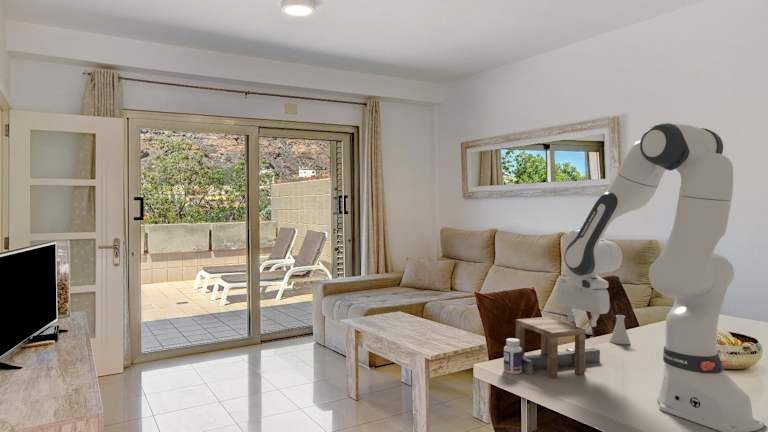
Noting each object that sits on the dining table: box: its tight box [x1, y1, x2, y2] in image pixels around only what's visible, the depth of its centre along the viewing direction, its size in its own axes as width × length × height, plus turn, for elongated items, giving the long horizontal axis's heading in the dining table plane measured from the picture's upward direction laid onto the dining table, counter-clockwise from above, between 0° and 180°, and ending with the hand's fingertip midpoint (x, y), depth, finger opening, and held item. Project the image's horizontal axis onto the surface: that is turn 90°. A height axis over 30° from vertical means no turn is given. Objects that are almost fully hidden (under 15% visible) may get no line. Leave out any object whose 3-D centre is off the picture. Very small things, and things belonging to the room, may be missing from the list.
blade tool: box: [521, 347, 601, 376], centre depth 157 cm, size 8×30×4 cm, turn 110°
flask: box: [609, 314, 631, 345], centre depth 185 cm, size 7×7×10 cm
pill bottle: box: [503, 337, 523, 375], centre depth 152 cm, size 5×5×10 cm
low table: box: [515, 316, 586, 380], centre depth 156 cm, size 18×12×14 cm, turn 20°
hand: (581, 323), depth 159 cm, fingers open, 8 cm apart
